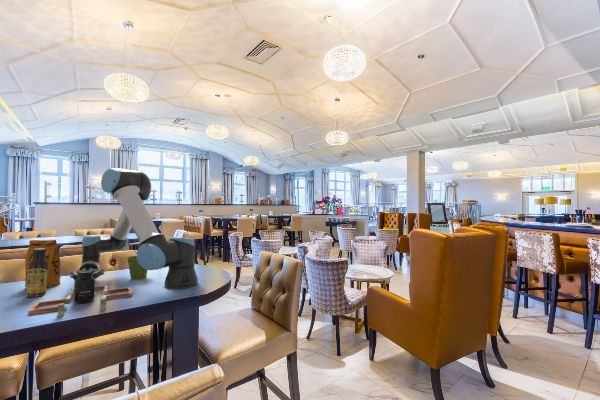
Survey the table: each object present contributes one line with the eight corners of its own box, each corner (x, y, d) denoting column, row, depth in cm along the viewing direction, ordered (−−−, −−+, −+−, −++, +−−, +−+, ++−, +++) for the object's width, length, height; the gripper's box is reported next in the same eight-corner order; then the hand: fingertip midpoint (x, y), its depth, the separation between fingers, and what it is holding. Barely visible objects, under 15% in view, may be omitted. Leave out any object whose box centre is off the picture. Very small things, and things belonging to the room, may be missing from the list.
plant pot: (138, 281, 148) (139, 259, 148) (120, 280, 151) (120, 258, 152) (156, 276, 159) (156, 255, 160) (138, 274, 163) (139, 254, 163)
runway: (44, 295, 125) (44, 286, 125) (130, 285, 141) (130, 277, 141) (22, 322, 97) (23, 309, 97) (133, 305, 114) (133, 294, 114)
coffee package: (50, 288, 135) (51, 240, 136) (20, 289, 134) (21, 241, 134) (64, 282, 145) (65, 238, 146) (36, 283, 144) (37, 238, 144)
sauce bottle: (24, 298, 121) (25, 250, 121) (29, 294, 126) (30, 248, 127) (44, 296, 124) (45, 249, 124) (49, 292, 129) (50, 247, 130)
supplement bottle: (83, 304, 114) (83, 274, 114) (69, 303, 115) (69, 272, 115) (99, 299, 120) (99, 270, 120) (85, 297, 122) (86, 268, 122)
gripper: (105, 276, 144) (102, 287, 124) (71, 279, 137) (63, 292, 117) (105, 260, 144) (102, 270, 124) (72, 263, 137) (63, 273, 117)
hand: (83, 280), depth 121 cm, fingers closed
